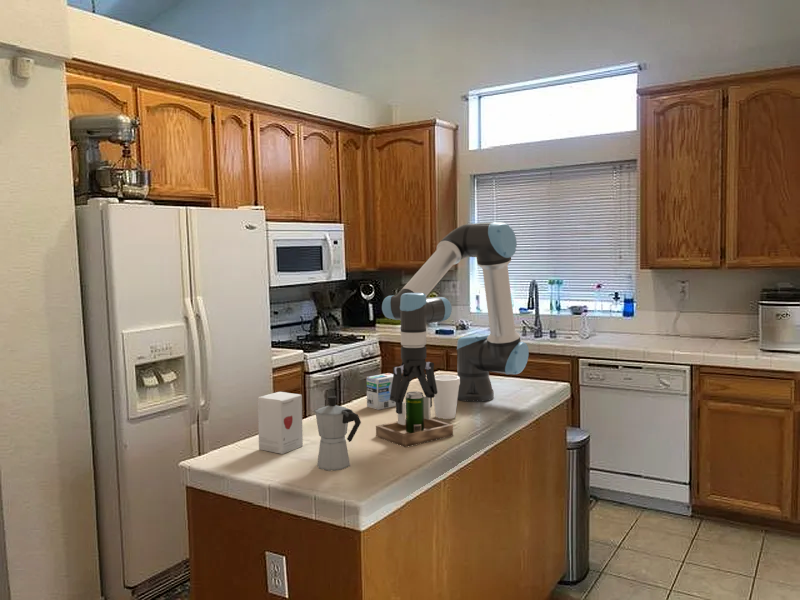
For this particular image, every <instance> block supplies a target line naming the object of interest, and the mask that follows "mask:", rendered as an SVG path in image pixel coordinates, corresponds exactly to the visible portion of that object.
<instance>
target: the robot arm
mask: <svg viewBox="0 0 800 600" xmlns="http://www.w3.org/2000/svg"><path fill="white" fill-rule="evenodd" d="M516 251H517V237H516V234H515V231H514V230H513V228H512V227H511V226H510V225H509V224H507V223H506V222H495V221H494V222H479V223H478V222H477V223H473V222H472V223H465V224H461V225H460V226H458V227H456V228H455V229H453V230H452V231H450V232H449V233H448V234H447V235H445V236H444V237H443V238H442V239H441V240H440V241H439V242H438V243H437V245H436V250H435V251H434V252H433V253H432V254H431V256H430V257H429V258H428V259H427V260H426V262H424V264H423V265H422V266H421V267H420V268H419V269H418V271H416V273H414V275H413V276H412V277H411V279H409V280H408V282H407V283H406V284H405V285H404V286H403V287H402V288H401V290H400V291H398V293H397V294H396V295H394V294H392V295H388V296H386V297H385V298H384V299H383V301H382V304H381V311H382V314H383V315H384V317H385V318H387V319H390V320H391V319H392V320H394V321H398V320H399V321H400V345H401V347H400V359H401V365H400V366H393V368H392V372H393V373H392V374H394V375H393V381H392V388H391V394H390V400H391V401H394V402H396V406H395V413H396V414H397V421H398V424H401V425H406V402H404V401H405V400H404V399H405V398H406V393H407V391H408V389H409V386H410V382H412V381H413V379H414V378H416V379H418V381H419V384H420V386H421V389H422V393H423V396H424V419H428V420H430V419H431V418H432V417H431V408H432V406H433V398H434V396H435V395H434V394H437V387H436V381H435V376H436V375H435V370H434V368H435V363H434V362H431V361H426V359H427V346H426V345H427V324H432V323H441V322H444V321H447V320H448V319H449V318H450V317H451V315H452V313H453V311H452V310H453V308H452V304H451V302H450V300H449V299H447V298H446V297H444V296H433V297H427V296H429V294H430V293H431V292H432V290H433V289H434V288H435V287H436V286H437V285H438V283H439V282H441V280H442V278H444V276H445V275H446V274H447V273H448V271H449V270H450V269H451V268H452V267H453V266H454V265H457V264H459V263H460V262H461V260H463V259H466V258H476V262H477V266H479V267H480V268H481V269H482V275H483V283H484V291H485V299H486V300H485V301H486V309H487V314H488V315H487V316H488V323H489V324H488V325H489V331H490V332H489V334H485V333H484V334H475V335H474V334H473V335H465V336H461V337H459V338H458V339H457V343H456V357H457V358H456V363H457V365H456V368H457V372H456V373H457V375H456V376H458V377H460V385H459V390H458V398H457V401H462V402H486V401H491V400H493V399H494V398H495V397H494V395H495V394H494V393H495V391H494V389H493V385H492V382H491V379H490V372H491V373H498V374H505V375H518V374H520V373H522V372H523V371H524V369H525V368H526V366H527V363H528V360H529V356H530V355H529V352H530V351H529V346H528V345H527V343H526V342H524V341H522V340H521V334H520V333H519V332H518V331H517V330H516V329H515V327H516V326H515V319H514V311H513V310H514V309H513V300H512V293H511V283H510V276H509V267H508V265H509V264H510V263H511V261H512V257H513V256H514V255H515V253H516Z"/></svg>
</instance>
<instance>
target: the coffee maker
mask: <svg viewBox="0 0 800 600" xmlns="http://www.w3.org/2000/svg"><path fill="white" fill-rule="evenodd" d="M327 401H328V405H326V406H323V407H318V408H314V409H312V411H313V412H314V413H315V420H316V423H317V425H316V426H317V431H318V436H319V437H320V442H319V447H318V449H319V450H318V458H317V462H316V463H317V467H318V469H319V470H323V469H324V471H329V472H332V471H331V470H333V471H341V470H342V469H343V470H345V469H346V467H347V468H349V467H351V463H350V457H349V451H348V450H349V449H348V446H347V441H348V443H350V442H353V441H352V440H353V438H354V436H355V435H356V433H357V431H358V429H359V427H360V425H361V424H362V421H361V418H360V416H359V415H358V414H357V413H356V412H354V410H352V409H350V408H347V407H345V406H341V405H337V396H336V395H330V396H327ZM351 422H354V425H353V427H352V428H351V430H350V432H349V434H348V425H349V423H351ZM347 434H348V436H347V437H346V435H347ZM346 440H347V441H346ZM348 466H349V467H348ZM344 468H345V469H344Z"/></svg>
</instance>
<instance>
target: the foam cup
mask: <svg viewBox="0 0 800 600" xmlns="http://www.w3.org/2000/svg"><path fill="white" fill-rule="evenodd" d="M434 376H435V381H436V387H437V394H434V395H435V396H434V398H432V400H433V404H434V412H435V417H436V418H437V417H438V418H437V419H440V418H443V420H450V419H454V418H456V412H457V404H458V400H457V398H458V390H459V385H460V377H458V376H457V375H454V374H437V375H434Z"/></svg>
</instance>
